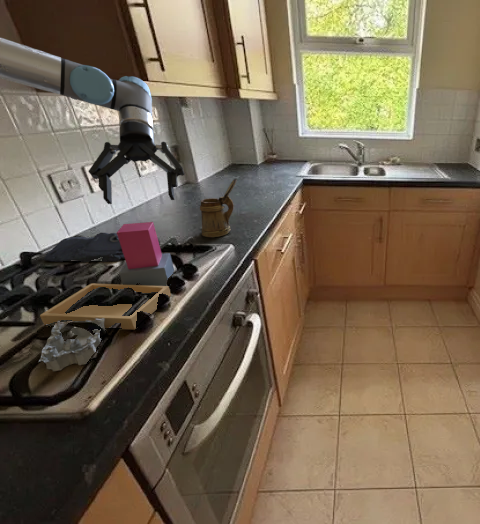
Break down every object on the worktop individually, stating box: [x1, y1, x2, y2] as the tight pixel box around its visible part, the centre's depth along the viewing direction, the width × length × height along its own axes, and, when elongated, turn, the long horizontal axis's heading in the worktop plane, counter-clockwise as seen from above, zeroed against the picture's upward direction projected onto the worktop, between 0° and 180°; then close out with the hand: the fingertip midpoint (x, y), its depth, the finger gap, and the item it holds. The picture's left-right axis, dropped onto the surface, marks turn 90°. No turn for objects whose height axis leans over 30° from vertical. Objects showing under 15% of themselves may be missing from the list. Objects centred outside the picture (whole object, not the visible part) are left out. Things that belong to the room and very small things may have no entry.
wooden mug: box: [199, 178, 238, 238], centre depth 109 cm, size 9×14×18 cm, turn 110°
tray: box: [39, 283, 172, 331], centre depth 69 cm, size 18×13×3 cm
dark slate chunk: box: [43, 232, 125, 263], centre depth 95 cm, size 15×22×5 cm
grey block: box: [118, 252, 175, 286], centre depth 80 cm, size 9×9×5 cm
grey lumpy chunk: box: [38, 318, 107, 372], centre depth 58 cm, size 11×8×4 cm
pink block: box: [116, 221, 163, 269], centre depth 77 cm, size 6×6×9 cm
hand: (140, 199), depth 82 cm, fingers open, 13 cm apart
